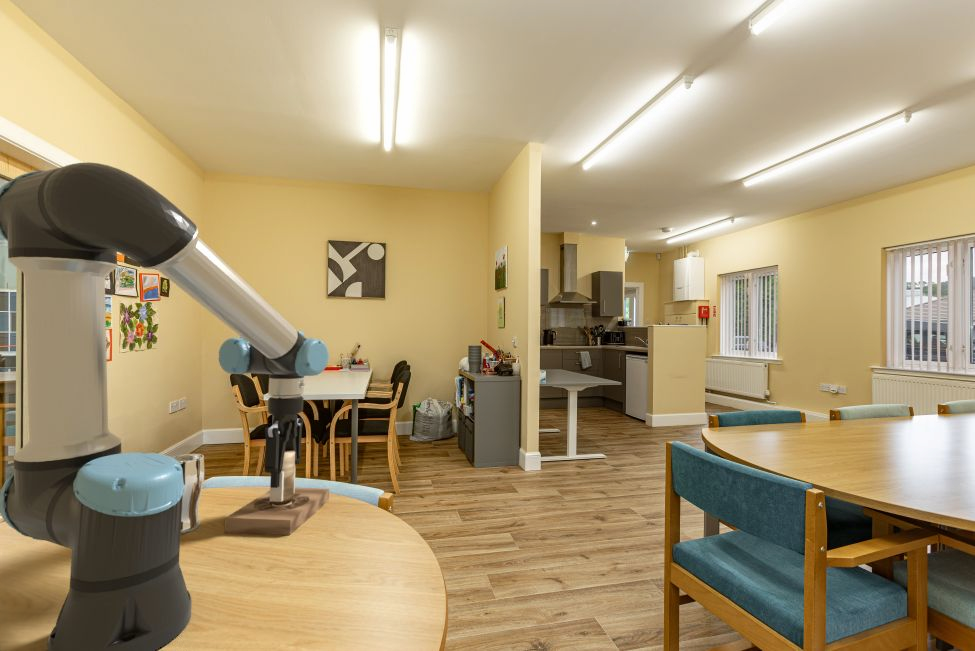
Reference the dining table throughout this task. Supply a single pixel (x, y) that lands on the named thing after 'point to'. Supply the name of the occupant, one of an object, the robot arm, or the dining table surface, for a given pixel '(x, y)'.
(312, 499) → the board
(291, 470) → the peg
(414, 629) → the dining table surface
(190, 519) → the metal cup
